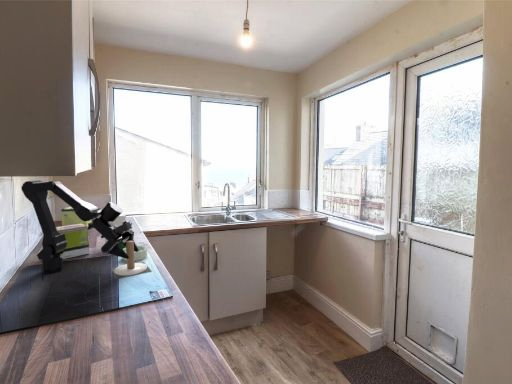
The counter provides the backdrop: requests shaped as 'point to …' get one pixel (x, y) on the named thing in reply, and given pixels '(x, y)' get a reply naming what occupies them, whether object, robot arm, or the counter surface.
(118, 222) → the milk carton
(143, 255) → the bowl
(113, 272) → the mat
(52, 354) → the counter surface
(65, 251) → the tea box
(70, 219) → the protein box
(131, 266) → the peg on round base
